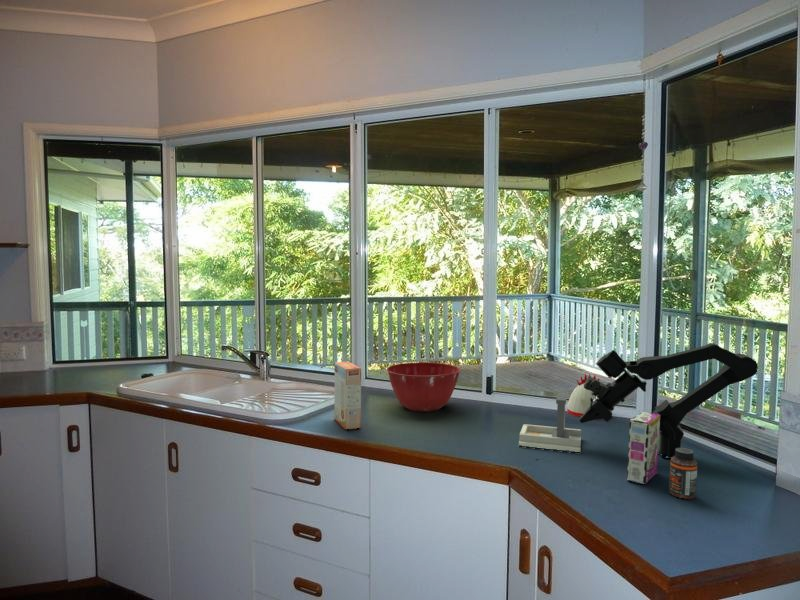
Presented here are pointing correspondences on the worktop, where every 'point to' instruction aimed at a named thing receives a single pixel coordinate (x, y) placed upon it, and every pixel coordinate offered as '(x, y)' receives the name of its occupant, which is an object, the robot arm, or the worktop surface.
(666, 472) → the worktop surface
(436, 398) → the mixing bowl
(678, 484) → the supplement bottle
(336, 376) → the cracker box
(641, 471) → the candy bar box
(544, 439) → the tray
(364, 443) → the worktop surface
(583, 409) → the kitchen timer
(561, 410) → the slide lever
